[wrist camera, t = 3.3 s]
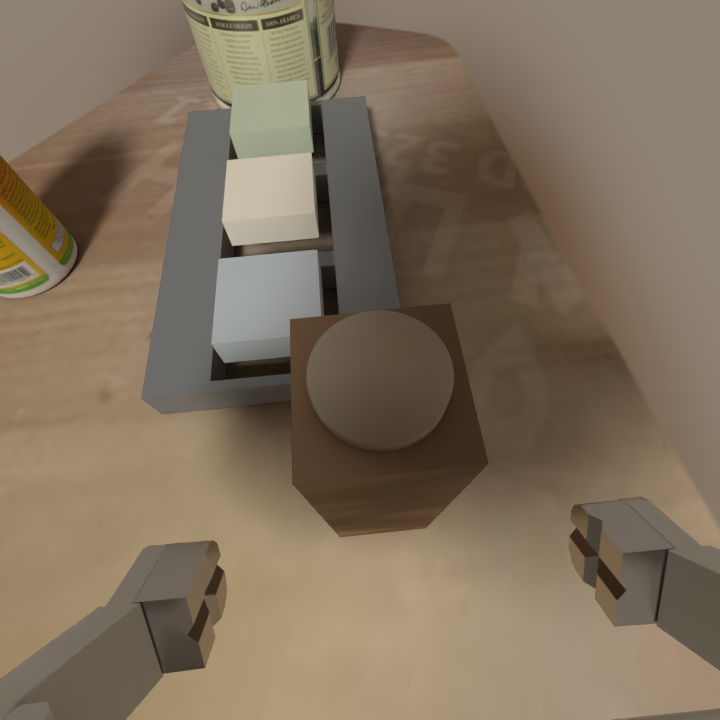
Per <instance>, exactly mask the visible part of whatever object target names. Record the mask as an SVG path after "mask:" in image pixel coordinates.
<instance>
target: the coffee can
mask: <svg viewBox="0 0 720 720" xmlns="http://www.w3.org/2000/svg"><path fill="white" fill-rule="evenodd" d="M181 1H182V4H183V7H184V10H185V12H186V15H187V18H188V21H189V24H190V27H191V30H192V33H193V36H194V39H195V42H196V45H197V47H198V50H199V53H200V56H201V59H202V62H203V65H204V68H205V71H206V74H207V77H208V80H209V82H210V86H211V89H212V95H213V98H214V100H215V101H216V103H217V104H218V105H219V106H220V107H221V108H222V109H229V108H232V97H233V86H244V85H255V84H266V83H277V82H289V81H300V80H307V83H308V90H309V97H310V101H318V100H329V99H331V98H332V97H333V96H334V94H335V93H336V91H337V89H338V87H339V84H340V71H339V64H338V52H337V39H336V25H335V12H334V0H181Z"/></svg>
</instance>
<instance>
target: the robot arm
mask: <svg viewBox="0 0 720 720" xmlns="http://www.w3.org/2000/svg"><path fill="white" fill-rule="evenodd" d="M571 521H572V522H573V524H574V525H575V526H576V529H575V530H574V531H573V533H572V534H571V535H570V536H569V550H570V555H571V559H572V563H573V565H574V567H575V569H576V571H577V573H578V574H579V576H580V577H581V579H582V581H583V582H585V583H587V584H588V585H590V586H592V587H593V588H595V589H596V591H595V600H596V601H597V602H598V604H599V605H600V607H601V608H602V610H603V611H604V613H605V614H606V615H607V617H608V618H609V620H610V621H611V623H612V624H613V626H627V625H641V624H655V623H657V626H658V627H659V628H661V629H662V630H663V631H665V632H666V633H668V634H669V635H670V636H672V637H673V638H675V639H676V640H677V641H679V642H680V643H682V644H683V645H685V646H686V647H687V648H689V649H690V650H692V651H693V652H694V653H696V654H697V655H699V656H700V657H701V658H703V659H704V660H706V661H707V662H709V663H710V664H711V665H713V666H714V667H716V668H717V669H718V670H720V550H718V549H716V548H713V547H711V546H701V545H699V544H698V543H697V542H696V541H695V540H694V539H693V538H691V537H690V536H689V535H688V534H687V533H686V532H684V531H683V530H682V529H681V528H680V527H679V526H678V525H676V524H675V523H674V522H673V521H672V520H671V519H670V518H668V517H667V516H666V515H665V514H664V513H663V512H662V511H660V510H659V509H658V508H657V507H656V506H655V505H654V504H652V503H651V502H650V501H649V500H648V499H646V498H643V497H634V498H626V499H619V500H614V501H605V502H595V503H586V504H576V505H574V506H573V508H572V510H571ZM219 557H220V552H219V548H218V544H217V543H216V542H215V541H200V542H187V543H174V544H165V545H153V546H148V547H146V548H144V549H143V550H142V551H141V553H140V554H139V556H138V557H137V559H136V561H135V562H134V564H133V565H132V567H131V568H130V570H129V571H128V573H127V574H126V576H125V578H124V579H123V581H122V582H121V584H120V585H119V587H118V588H117V590H116V592H115V593H114V595H113V596H112V598H111V599H110V601H109V602H108V604H107V605H106V606H105V607H98V608H97V609H95V610H94V611H93V612H91V613H90V614H89V615H87V616H86V617H84V618H83V619H82V620H80V621H79V622H78V623H76V624H75V625H73V626H72V627H71V628H69V629H68V630H67V631H65V632H64V633H62V634H61V635H60V636H58V637H57V638H56V639H54V640H53V641H51V642H50V643H49V644H47V645H46V646H45V647H43V648H42V649H40V650H39V651H38V652H36V653H35V654H34V655H32V656H31V657H30V658H28V659H27V660H25V661H24V662H23V663H21V664H20V665H19V666H17V667H16V668H14V669H13V670H12V671H10V672H9V673H8V674H6V675H5V676H3V677H2V678H1V679H0V720H126V719H127V718H128V716H129V715H130V714H131V713H132V712H133V711H134V709H135V708H136V707H137V706H138V705H139V704H140V702H141V701H142V700H143V699H144V698H145V697H146V695H147V694H148V693H149V692H150V691H151V690H152V688H153V687H154V686H155V685H156V684H157V683H158V681H159V680H160V679H161V678H162V677H163V675H162V674H164V673H172V672H179V671H187V670H194V669H202V668H205V667H206V664H207V661H208V658H209V655H210V652H211V649H212V646H213V643H214V639H215V634H214V630H213V626H214V625H215V624H216V623H217V622H218V621H219V620H220V619H221V618H222V614H223V611H224V608H225V602H226V594H227V586H226V577H225V573H224V570H222V569H221V568H220V567H219V566H218V565H217V563H218V560H219ZM614 720H720V709H711V710H701V711H691V712H681V713H672V714H662V715H652V716H643V717H633V718H624V719H614Z"/></svg>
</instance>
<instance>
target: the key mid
mask: <svg viewBox="0 0 720 720" xmlns="http://www.w3.org/2000/svg"><path fill="white" fill-rule="evenodd" d="M222 223H223V225H224V228H225V230H226V232H227V235H228V237H229V239H230V242H231V244H232V246H237V245H248V244H258V243H269V242H279V241H290V240H301V239H311V238H319V227H318V212H317V196H316V180H315V173H314V166H313V160H312V153H300V154H289V155H278V156H267V157H256V158H246V159H235V160H227V167H226V179H225V190H224V202H223V213H222Z"/></svg>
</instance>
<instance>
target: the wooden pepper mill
mask: <svg viewBox="0 0 720 720" xmlns="http://www.w3.org/2000/svg"><path fill="white" fill-rule="evenodd" d="M290 364H291V424H292V483H293V485H294V486H295V487H296V488H297V489H298V491H299V492H300V493H301V494H302V495H303V496H304V497H305V498H306V500H307V501H308V502H309V503H310V504H311V505H312V506H313V507H314V509H315V510H316V511H317V512H318V513H319V514H320V515H321V516H322V517H323V519H324V520H325V521H326V522H327V523H328V524H329V525H330V526H331V528H332V529H333V530H334V531H335V532H336V533H337V534H338V535H339V537H345V536H355V535H364V534H374V533H383V532H393V531H402V530H412V529H422V528H426V527H427V526H428V525H429V524H430V523H431V522H432V521H433V520H434V519H435V518H436V517H437V516H438V515H439V514H440V513H441V512H442V511H443V510H444V509H445V508H446V507H447V506H448V505H449V504H450V503H451V502H452V501H453V500H454V499H455V498H456V496H457V495H458V494H459V493H460V492H461V491H462V490H463V489H464V488H465V487H466V486H467V485H468V484H469V483H470V482H471V481H472V480H473V479H474V478H475V477H476V476H477V475H478V474H479V473H480V472H481V471H482V470H483V469H484V468H485V467H486V466H487V465H488V460H487V456H486V452H485V448H484V443H483V439H482V435H481V431H480V427H479V422H478V418H477V414H476V410H475V406H474V401H473V397H472V393H471V389H470V385H469V380H468V376H467V372H466V368H465V363H464V359H463V355H462V351H461V347H460V342H459V338H458V334H457V330H456V326H455V321H454V317H453V313H452V309H451V305H450V303H449V304H439V305H429V306H419V307H409V308H398V309H388V310H377V311H367V312H358V313H347V314H337V315H327V316H317V317H307V318H296V319H290Z"/></svg>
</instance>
